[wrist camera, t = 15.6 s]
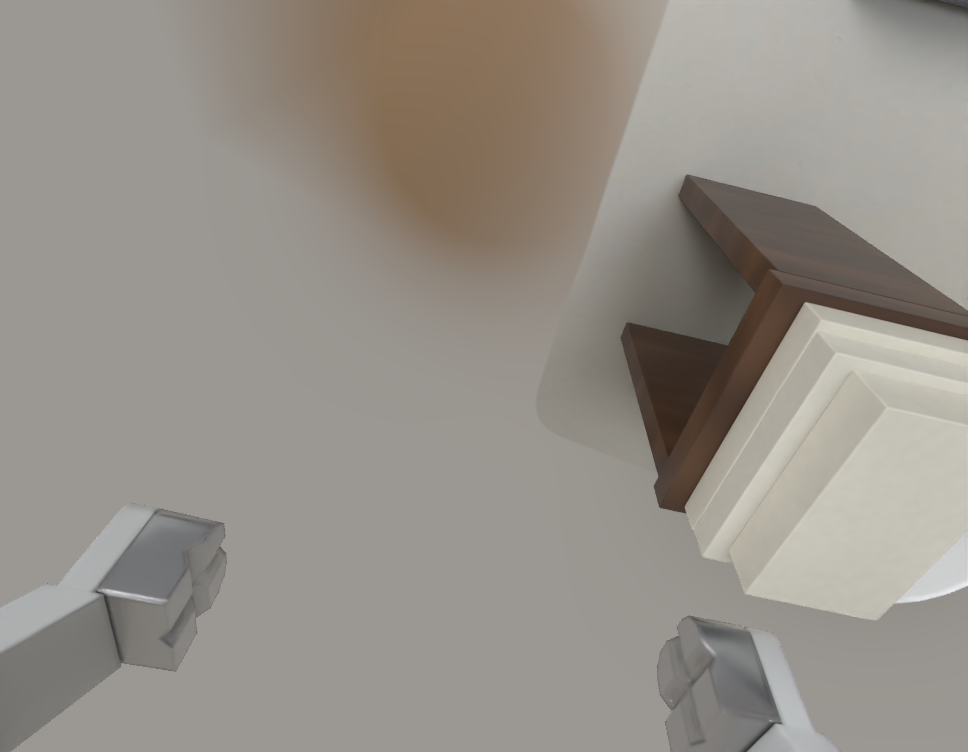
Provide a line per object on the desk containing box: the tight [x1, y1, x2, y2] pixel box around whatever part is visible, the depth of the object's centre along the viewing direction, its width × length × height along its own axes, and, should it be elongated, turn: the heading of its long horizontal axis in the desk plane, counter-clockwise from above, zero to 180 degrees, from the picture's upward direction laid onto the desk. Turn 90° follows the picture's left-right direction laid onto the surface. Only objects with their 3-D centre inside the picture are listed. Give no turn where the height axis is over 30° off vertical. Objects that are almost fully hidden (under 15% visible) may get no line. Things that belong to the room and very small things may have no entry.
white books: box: [685, 302, 968, 564], centre depth 27 cm, size 13×8×4 cm, turn 168°
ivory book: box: [729, 370, 968, 621], centre depth 24 cm, size 11×6×3 cm, turn 168°
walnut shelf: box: [621, 175, 968, 513], centre depth 37 cm, size 14×11×20 cm
